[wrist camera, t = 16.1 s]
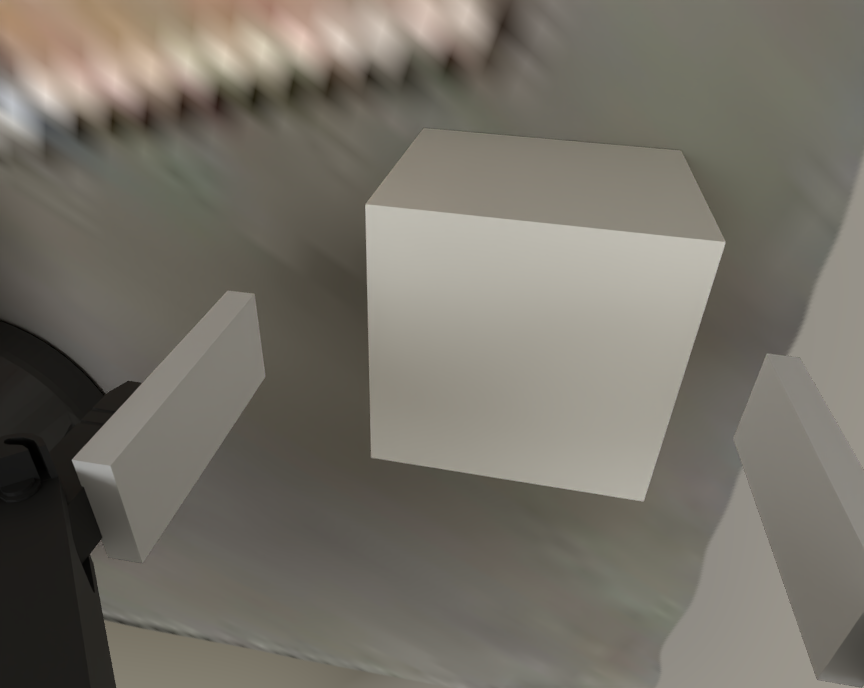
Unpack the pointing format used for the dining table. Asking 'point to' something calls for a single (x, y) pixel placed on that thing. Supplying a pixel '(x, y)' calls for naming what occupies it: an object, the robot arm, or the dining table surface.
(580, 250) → the plain off-white cube
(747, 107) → the dining table surface
